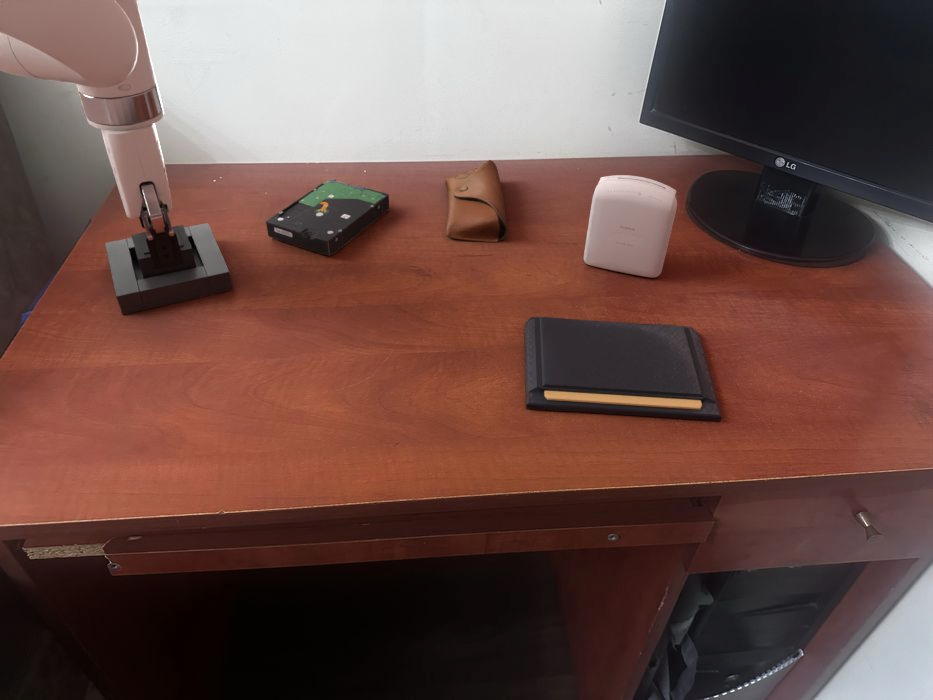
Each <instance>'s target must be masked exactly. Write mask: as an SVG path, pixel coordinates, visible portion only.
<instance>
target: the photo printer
mask: <svg viewBox="0 0 933 700" xmlns="http://www.w3.org/2000/svg"><path fill="white" fill-rule="evenodd" d="M676 195H677V190H676V189H675V188H673V187H671V186H670V185H668V184H665V183H664V182H660V181H657V180H655V179H652V178H647V177H643V176H637V175H629V174H627V175H626V174H615V175H606V176H602V177H600V178H599V181H598V183H597V185H596V186H595V189H594V192H593V195H592V200H591V206H590V212H589V218H588V225H587V230H586V231H587V232H586V238H585V244H584V250H583V251H584V252H583V261H584V263H585V264H586V265H589V266H591V267H596V268H600V269H604V270H610V271H613V272H619V273H624V274H628V275H634V276H637V277H645V278H653V279H654V278H657V277H659V276H660V275H661V274H662V272H663V267H664V263H665V259H666V255H667V252H668V246H669V242H670V238H671V235H672V229H673V225H674V221H675V218H676V212H677V208H678V200H677V196H676Z"/></svg>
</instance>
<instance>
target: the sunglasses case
mask: <svg viewBox="0 0 933 700" xmlns="http://www.w3.org/2000/svg"><path fill="white" fill-rule="evenodd" d="M498 170H499V169H498V167H497V165H496V162H494V161H493V160H492V159H488V160H487V161H486V162H485V163H483V164H482V165H480V166H477V167H475V168H472V169H470V170H468V171H464V172H462V173H459V174H457V175H455V176H452V177H449V178H446V179H445V180H444V182H445V187H446V189H447V222H446V230H445V231H446V232H445V236H446V237H448V238H450V239H454V240H458V241H459V240H460V241H465V242H478V243H479V242H480V243H483V242H484V243H498V242H500V241H503V240H504V239H505V237H506V236H507V234H508V226H507V225H508V224H507V217H506V215H507V214H506V208H505V202H504V196H503V195H504V194H503V190H502V182H501V178H500V174H499V171H498Z"/></svg>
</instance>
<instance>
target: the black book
mask: <svg viewBox="0 0 933 700" xmlns="http://www.w3.org/2000/svg"><path fill="white" fill-rule="evenodd" d="M524 354H525V355H524V357H525V409H528V410H537V411H538V410H539V411H549V412H551V411H552V412H576V413H591V414H607V415H620V416H621V415H622V416H636V417H653V418H665V419H666V418H668V419H681V420H683V419H684V420H697V421H713V422H721V420H722V419H723V416H722V413H721V409H720V407H719V401H718V395H717V391H716V388H715V384H714V380H713V377H712V373H711V370H710V367H709V364H708V363H709V362H708V360H707V357H706V353H705V349H704V346H703V343H702V340H701V337H700V334H699V332H698V331H697V330H696V329H695V328H694V327H692V326H685V325H676V324H675V325H674V324H656V323H639V322H623V321H622V322H621V321H609V320H608V321H607V320H590V319H579V318H578V319H577V318H562V317H550V316H531V317H530V318H528V319H527V320H526V321H525V323H524Z"/></svg>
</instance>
